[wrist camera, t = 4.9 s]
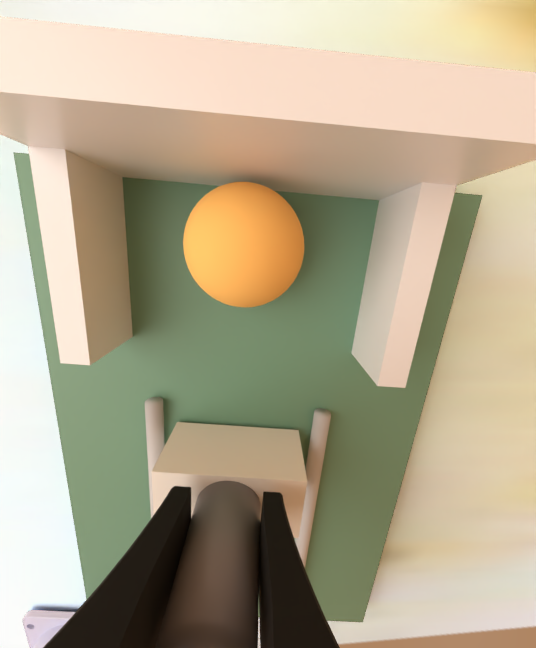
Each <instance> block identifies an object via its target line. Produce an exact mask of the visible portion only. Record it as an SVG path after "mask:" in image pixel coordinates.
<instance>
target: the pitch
mask: <svg viewBox="0 0 536 648" xmlns="http://www.w3.org/2000/svg"><path fill="white" fill-rule="evenodd" d="M14 159H15V165H16V171H17V177H18V183H19V189H20V195H21V201H22V207H23V214H24V220H25V226H26V232H27V238H28V244H29V250H30V256H31V262H32V268H33V275H34V281H35V287H36V293H37V299H38V305H39V311H40V317H41V323H42V329H43V336H44V342H45V348H46V354H47V360H48V366H49V372H50V378H51V384H52V390H53V397H54V403H55V409H56V415H57V421H58V427H59V433H60V439H61V445H62V451H63V458H64V464H65V470H66V476H67V482H68V488H69V494H70V500H71V506H72V513H73V519H74V525H75V531H76V537H77V543H78V549H79V555H80V561H81V567H82V574H83V580H84V586H85V592H86V598H87V599H88V598H89V597H90V595H91V594H92V593H93V592H94V591H95V590H96V588H97V587H98V586H99V585H100V584H101V583H102V581H103V580H104V579H105V578H106V576H107V575H108V574H109V573H110V572H111V570H112V569H113V568H114V567H115V565H116V564H117V563H118V562H119V560H120V559H121V558H122V557H123V556H124V554H125V553H126V552H127V550H128V549H129V548H130V546H131V545H132V544H133V543H134V541H135V540H136V539H137V537H138V536H139V535H140V533H141V532H142V531H143V529H144V528H145V527H146V525H147V524H148V522H149V521H150V520H151V518H152V517H153V515H154V512H153V492H152V473H151V472H152V470H153V468H154V466H155V464H156V462H157V460H158V458H159V456H160V454H161V452H162V450H163V448H164V446H165V444H166V442H167V441H168V439H169V437H170V435H171V433H172V431H173V429H174V427H175V425H176V423H177V422H186V423H201V424H215V425H230V426H245V427H260V428H275V429H290V430H299V436H300V441H301V447H302V453H303V459H304V465H305V471H306V476H307V487H306V494H305V500H304V506H303V513H302V519H301V526H300V532H299V538H294V540H295V543H296V546H297V548H298V551H299V554H300V557H301V559H302V562H303V565H304V568H305V570H306V573H307V575H308V578H309V580H310V583H311V585H312V588H313V590H314V593H315V595H316V597H317V600H318V602H319V604H320V607H321V609H322V611H323V613H324V616H325V618H326V620H327V621H347V622H363V619H364V616H365V612H366V609H367V605H368V601H369V598H370V594H371V591H372V587H373V584H374V580H375V576H376V573H377V569H378V566H379V562H380V559H381V555H382V551H383V548H384V544H385V541H386V537H387V534H388V530H389V526H390V523H391V519H392V516H393V512H394V509H395V505H396V502H397V498H398V494H399V491H400V487H401V484H402V480H403V477H404V473H405V469H406V466H407V462H408V459H409V455H410V452H411V448H412V444H413V441H414V437H415V434H416V430H417V427H418V423H419V419H420V416H421V412H422V409H423V405H424V402H425V398H426V395H427V391H428V387H429V384H430V380H431V377H432V373H433V370H434V366H435V362H436V359H437V355H438V352H439V348H440V345H441V341H442V337H443V334H444V330H445V327H446V323H447V320H448V316H449V313H450V309H451V305H452V302H453V298H454V295H455V291H456V288H457V284H458V280H459V277H460V273H461V270H462V266H463V263H464V259H465V255H466V252H467V248H468V245H469V241H470V238H471V234H472V230H473V227H474V223H475V220H476V216H477V213H478V209H479V206H480V202H481V198H482V195H472V194H461V193H454V197H453V201H452V205H451V209H450V213H449V217H448V221H447V225H446V229H445V233H444V237H443V241H442V245H441V249H440V253H439V257H438V260H437V264H436V268H435V272H434V276H433V280H432V284H431V288H430V292H429V296H428V300H427V304H426V308H425V312H424V316H423V320H422V324H421V328H420V332H419V336H418V339H417V343H416V347H415V351H414V355H413V359H412V363H411V367H410V371H409V375H408V379H407V383H406V387H405V388H398V387H384V386H377V385H376V384H375V382H374V381H373V380H372V379H371V377H370V376H369V375H368V374H367V372H366V371H365V370H364V369H363V367H362V366H361V365H360V363H359V362H358V361H357V360H356V358H355V357H354V356H353V355H352V347H353V342H354V336H355V331H356V325H357V320H358V314H359V309H360V303H361V298H362V292H363V287H364V281H365V276H366V270H367V265H368V259H369V254H370V248H371V243H372V237H373V232H374V226H375V221H376V215H377V210H378V204H379V200H371V199H360V198H349V197H338V196H327V195H316V194H305V193H294V192H282V191H275V192H276V193H278V194H279V195H280V196H282V197H283V198H284V199H285V200H286V201H287V202H288V203H289V204H290V206H291V207H292V208H293V210H294V211H295V213H296V215H297V217H298V219H299V221H300V224H301V227H302V231H303V236H304V257H303V261H302V265H301V268H300V270H299V273H298V275H297V277H296V279H295V280H294V282H293V283H292V284H291V286H290V287H289V288H288V289H287V290H286V291H285V292H284V293H283V294H282V295H281V296H279V297H278V298H276V299H275V300H273V301H271V302H268V303H266V304H264V305H260V306H256V307H235V306H230V305H227V304H224V303H222V302H220V301H218V300H216V299H214V298H212V297H211V296H210V295H208V294H207V293H206V292H205V291H204V290H203V289H202V288H201V287H200V286H199V285H198V284H197V282H196V281H195V280H194V278H193V277H192V275H191V273H190V271H189V269H188V266H187V263H186V260H185V255H184V248H183V238H184V230H185V226H186V223H187V220H188V218H189V216H190V213H191V211H192V210H193V208H194V207H195V206H196V204H197V203H198V202H199V201H200V200H201V199H202V198H203V197H204V196H205V195H206V194H207V193H209V192H210V191H212V190H213V189H215V188H217V187H219V186H216V185H205V184H194V183H183V182H172V181H161V180H149V179H138V178H127V177H122V179H123V195H124V210H125V225H126V241H127V256H128V272H129V287H130V303H131V318H132V334H133V337H132V338H130V339H129V340H127V341H126V342H124V343H123V344H121V345H120V346H118V347H117V348H115V349H114V350H112V351H111V352H109V353H108V354H106V355H105V356H103V357H102V358H100V359H99V360H97V361H96V362H94V363H93V364H91V365H78V364H65V363H60V357H59V350H58V343H57V337H56V330H55V323H54V317H53V310H52V303H51V297H50V290H49V283H48V277H47V270H46V263H45V257H44V250H43V243H42V236H41V230H40V223H39V216H38V210H37V203H36V196H35V190H34V183H33V176H32V170H31V163H30V156H29V154H25V153H14ZM258 617H260V614H259V604H258Z"/></svg>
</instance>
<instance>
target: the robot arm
mask: <svg viewBox="0 0 536 648" xmlns="http://www.w3.org/2000/svg"><path fill="white" fill-rule="evenodd" d="M190 522H191V487H183V486H174V487H173V488H171V490H170V491H169V493H168V495H167V496H166V498H165V499H164V501H163V502H162V504H161V505H160V507H159V508H158V510H157V511H156V512H155V514H154V515H153V517H152V518H151V520H150V521H149V522H148V524H147V525H146V527H145V528H144V529H143V531H142V532H141V533H140V535H139V536H138V537H137V539H136V540H135V541H134V543H133V544H132V545H131V546H130V548H129V549H128V550H127V552H126V553H125V554H124V556H123V557H122V558H121V559H120V560H119V562H118V563H117V564H116V565H115V567H114V568H113V569H112V570H111V572H110V573H109V574H108V575H107V576H106V578H105V579H104V580H103V581H102V583H101V584H100V585H99V586H98V587H97V588H96V590H95V591H94V592H93V593H92V594H91V595H90V597H89V598H88V599H87V600H86V601H85V602H84V603H83V605H82V606H81V607H80V608H79V609H78V610H77V611H76V612H64V611H44V610H30V611H28V612H27V613H26V614H25V616H24V618H23V625H24V628H25V632H26V636H27V639H28V643H29V647H30V648H155V647H156V643H157V640H158V636H159V633H160V629H161V625H162V622H163V618H164V615H165V611H166V608H167V604H168V600H169V597H170V593H171V590H172V586H173V582H174V579H175V575H176V572H177V568H178V565H179V561H180V557H181V554H182V550H183V547H184V543H185V539H186V536H187V532H188V529H189V525H190ZM259 614H260V643H261V648H339V646H338V644H337V642H336V639H335V637H334V635H333V633H332V631H331V629H330V627H329V624H328V622H327V620H326V618H325V616H324V613H323V611H322V609H321V607H320V604H319V602H318V600H317V597H316V595H315V593H314V590H313V588H312V585H311V583H310V580H309V578H308V575H307V573H306V570H305V568H304V565H303V562H302V559H301V557H300V554H299V551H298V548H297V546H296V543H295V540H294V537H293V534H292V530H291V527H290V524H289V520H288V517H287V513H286V509H285V505H284V500H283V495H282V494H281V493H280V492H265V491H263V501H262V511H261V521H260V562H259Z"/></svg>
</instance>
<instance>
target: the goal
mask: <svg viewBox="0 0 536 648" xmlns="http://www.w3.org/2000/svg"><path fill="white" fill-rule="evenodd" d="M0 134H1V135H3V136H6V137H8V138H10V139H13V140H15V141H18V142H20V143H22V144H25V145H27V146H28V150H29V156H30V163H31V170H32V176H33V183H34V190H35V196H36V203H37V210H38V216H39V223H40V230H41V236H42V243H43V250H44V257H45V263H46V270H47V277H48V283H49V290H50V297H51V303H52V310H53V317H54V323H55V330H56V337H57V343H58V350H59V357H60V363H65V364H78V365H91V364H93V363H94V362H96V361H97V360H99V359H100V358H102V357H103V356H105V355H106V354H108V353H109V352H111V351H112V350H114V349H115V348H117V347H118V346H120V345H121V344H123V343H124V342H126V341H127V340H129V339H130V338H132V337H133V334H132V318H131V303H130V287H129V272H128V256H127V241H126V225H125V210H124V195H123V179H122V177H127V178H138V179H149V180H161V181H172V182H183V183H194V184H205V185H216V186H222V185H225V184H228V183H233V182H252V183H257V184H260V185H263V186H266V187H268V188H270V189H272V190H273V191H282V192H294V193H305V194H316V195H327V196H338V197H349V198H360V199H371V200H379V204H378V210H377V215H376V221H375V226H374V232H373V237H372V243H371V248H370V254H369V259H368V265H367V270H366V276H365V281H364V287H363V292H362V298H361V303H360V309H359V314H358V320H357V325H356V331H355V336H354V342H353V347H352V355H353V356H354V357H355V358H356V360H357V361H358V362H359V363H360V365H361V366H362V367H363V369H364V370H365V371H366V372H367V374H368V375H369V376H370V377H371V379H372V380H373V381H374V382H375V384H376V385H377V386H384V387H398V388H405V387H406V383H407V379H408V375H409V371H410V367H411V363H412V359H413V355H414V351H415V347H416V343H417V339H418V336H419V332H420V328H421V324H422V320H423V316H424V312H425V308H426V304H427V300H428V296H429V292H430V288H431V284H432V280H433V276H434V272H435V268H436V264H437V260H438V257H439V253H440V249H441V245H442V241H443V237H444V233H445V229H446V225H447V221H448V217H449V213H450V209H451V205H452V201H453V197H454V193H455V189H456V185H460V184H463V183H466V182H469V181H472V180H475V179H478V178H481V177H484V176H487V175H490V174H493V173H496V172H500V171H503V170H506V169H509V168H512V167H515V166H518V165H521V164H524V163H527V162H530V161H533V160H536V72H527V71H517V70H508V69H498V68H489V67H479V66H469V65H460V64H450V63H441V62H431V61H421V60H412V59H402V58H393V57H383V56H374V55H364V54H354V53H345V52H335V51H326V50H316V49H306V48H297V47H287V46H278V45H268V44H259V43H249V42H239V41H230V40H220V39H211V38H201V37H191V36H182V35H172V34H163V33H153V32H144V31H134V30H124V29H115V28H105V27H96V26H86V25H77V24H67V23H57V22H48V21H38V20H29V19H19V18H9V17H0Z"/></svg>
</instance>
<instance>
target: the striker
mask: <svg viewBox="0 0 536 648" xmlns="http://www.w3.org/2000/svg"><path fill="white" fill-rule="evenodd" d="M151 473H152V492H153V512H154V514H155V512H156V511H157V510H158V508H159V507H160V505H161V504H162V502H163V501H164V499H165V498H166V496H167V495H168V493H169V491H170V490H171V488H173V487H174V486H183V487H191V522H190V525H189V529H188V532H187V536H186V539H185V543H184V547H183V550H182V554H181V557H180V561H179V565H178V568H177V572H176V575H175V579H174V582H173V586H172V590H171V593H170V597H169V600H168V604H167V608H166V611H165V615H164V618H163V622H162V625H161V629H160V633H159V636H158V640H157V643H156V647H155V648H257V645H258V604H259V562H260V521H261V511H262V501H263V491H265V492H280V493H281V494H282V495H283V500H284V505H285V509H286V513H287V517H288V520H289V524H290V527H291V530H292V534H293V537H294V538H299V532H300V526H301V519H302V513H303V506H304V500H305V494H306V487H307V476H306V471H305V465H304V459H303V453H302V447H301V441H300V436H299V430H290V429H275V428H260V427H245V426H230V425H215V424H201V423H186V422H177V423H176V425H175V427H174V429H173V431H172V433H171V435H170V437H169V439H168V441H167V442H166V444H165V446H164V448H163V450H162V452H161V454H160V456H159V458H158V460H157V462H156V464H155V466H154V468H153V470H152V472H151Z"/></svg>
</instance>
